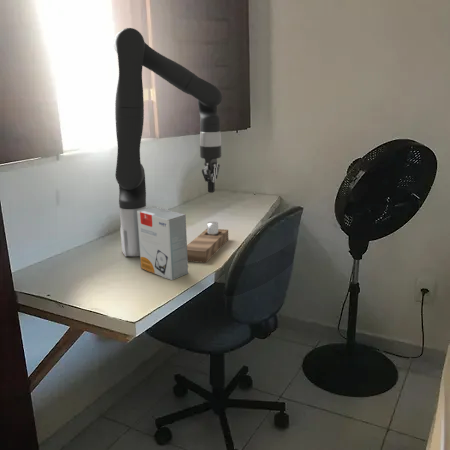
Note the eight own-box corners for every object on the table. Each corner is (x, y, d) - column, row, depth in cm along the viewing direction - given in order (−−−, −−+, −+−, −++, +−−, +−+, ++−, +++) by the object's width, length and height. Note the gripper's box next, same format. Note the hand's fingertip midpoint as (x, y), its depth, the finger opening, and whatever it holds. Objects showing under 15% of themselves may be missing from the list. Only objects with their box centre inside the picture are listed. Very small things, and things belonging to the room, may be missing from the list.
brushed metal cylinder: (210, 245, 188) (209, 225, 186) (206, 242, 192) (205, 222, 189) (220, 244, 189) (219, 223, 187) (216, 241, 193) (215, 221, 191)
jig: (205, 262, 172) (205, 251, 171) (182, 260, 174) (182, 249, 173) (228, 239, 194) (228, 229, 193) (207, 238, 197) (207, 228, 196)
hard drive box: (140, 269, 168) (135, 210, 162) (157, 262, 173) (154, 205, 167) (171, 281, 157) (167, 219, 152) (189, 273, 163) (186, 213, 157)
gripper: (214, 147, 173) (215, 196, 178) (226, 142, 185) (226, 188, 190) (193, 146, 175) (195, 195, 180) (206, 141, 187) (207, 187, 192)
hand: (211, 192), depth 185 cm, fingers closed
